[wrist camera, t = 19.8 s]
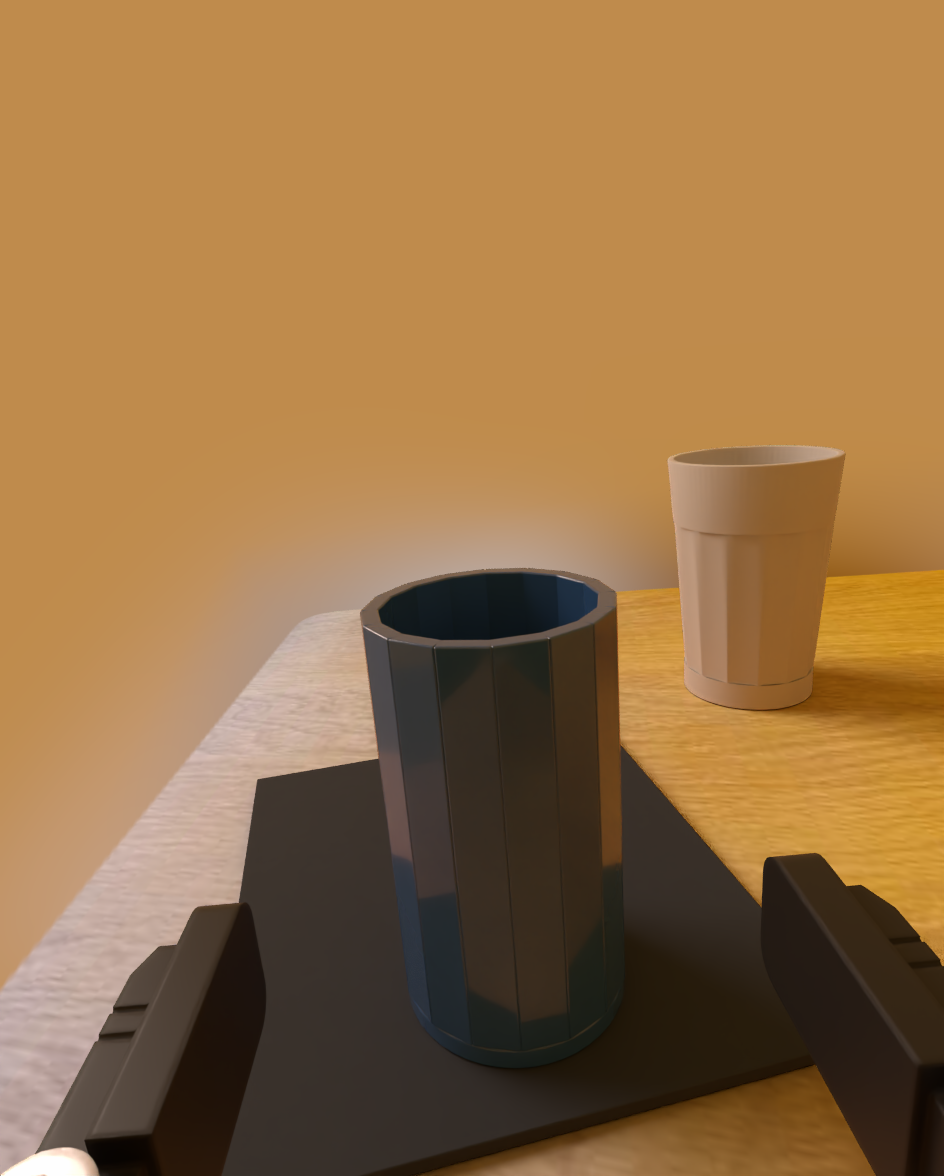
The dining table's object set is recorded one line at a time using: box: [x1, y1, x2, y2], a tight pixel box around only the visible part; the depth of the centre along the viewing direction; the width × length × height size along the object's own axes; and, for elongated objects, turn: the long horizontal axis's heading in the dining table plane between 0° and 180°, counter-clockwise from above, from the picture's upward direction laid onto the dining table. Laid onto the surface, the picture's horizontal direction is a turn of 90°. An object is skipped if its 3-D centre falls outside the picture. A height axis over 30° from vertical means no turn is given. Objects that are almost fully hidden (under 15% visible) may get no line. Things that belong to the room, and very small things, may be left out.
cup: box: [668, 445, 845, 710], centre depth 37 cm, size 8×8×12 cm
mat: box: [222, 745, 815, 1176], centre depth 25 cm, size 16×18×1 cm
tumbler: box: [360, 568, 625, 1069], centre depth 19 cm, size 6×6×11 cm
